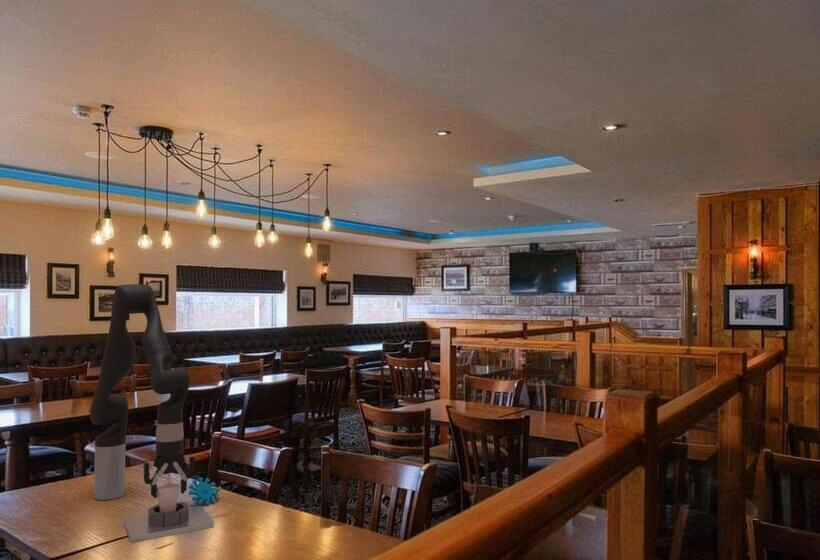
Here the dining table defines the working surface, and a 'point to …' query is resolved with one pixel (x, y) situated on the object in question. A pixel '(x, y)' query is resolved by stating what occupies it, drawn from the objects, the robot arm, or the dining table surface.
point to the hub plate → (167, 522)
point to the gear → (204, 491)
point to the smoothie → (167, 496)
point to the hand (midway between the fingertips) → (168, 495)
